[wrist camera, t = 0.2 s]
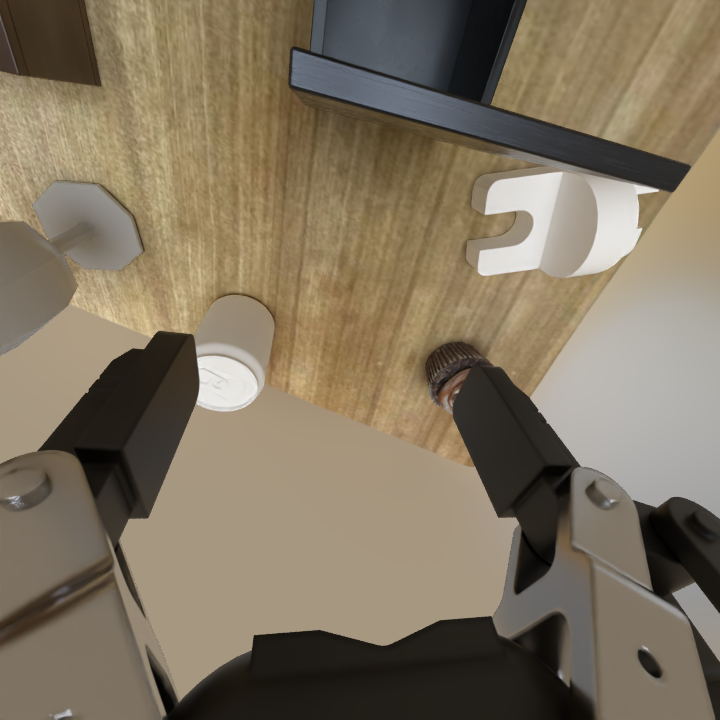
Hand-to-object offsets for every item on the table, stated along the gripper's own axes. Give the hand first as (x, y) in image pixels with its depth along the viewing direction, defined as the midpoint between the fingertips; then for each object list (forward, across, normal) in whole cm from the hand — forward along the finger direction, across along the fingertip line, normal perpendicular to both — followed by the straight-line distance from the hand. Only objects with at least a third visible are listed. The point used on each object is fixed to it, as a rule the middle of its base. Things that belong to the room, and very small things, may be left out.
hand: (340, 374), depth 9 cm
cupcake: (+29, -22, +20) cm, 41 cm away
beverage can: (+29, +8, +17) cm, 34 cm away
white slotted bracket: (+29, -25, -2) cm, 39 cm away
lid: (+12, -4, -7) cm, 14 cm away
